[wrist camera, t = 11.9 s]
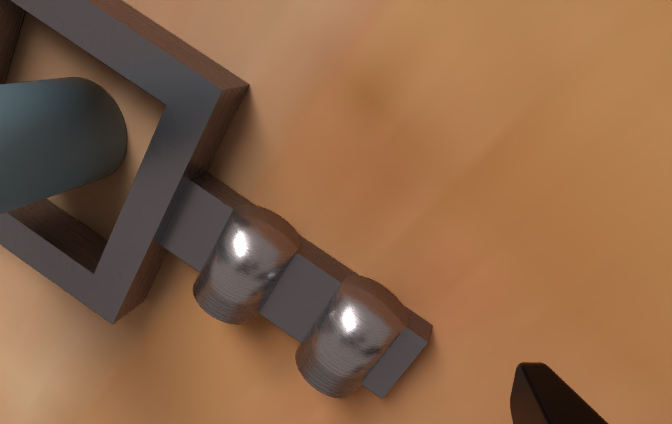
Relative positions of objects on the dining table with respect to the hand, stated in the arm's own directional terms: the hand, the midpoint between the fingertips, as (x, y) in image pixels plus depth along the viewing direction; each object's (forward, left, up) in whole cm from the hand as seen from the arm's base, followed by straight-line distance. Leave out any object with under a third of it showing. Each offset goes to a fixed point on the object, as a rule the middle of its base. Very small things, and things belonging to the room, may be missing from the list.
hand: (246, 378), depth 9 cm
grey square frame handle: (+10, +6, -11) cm, 16 cm away
